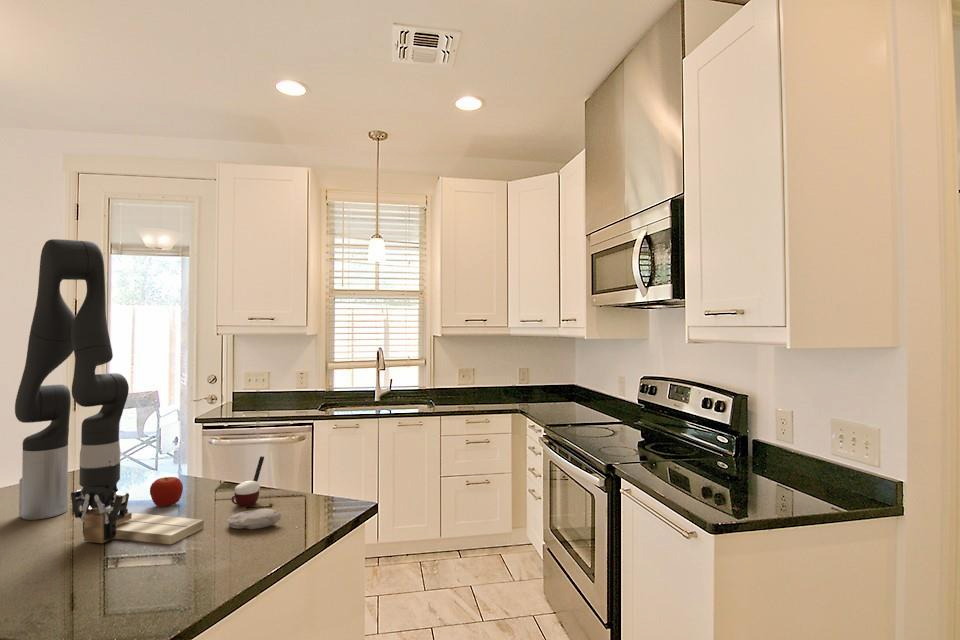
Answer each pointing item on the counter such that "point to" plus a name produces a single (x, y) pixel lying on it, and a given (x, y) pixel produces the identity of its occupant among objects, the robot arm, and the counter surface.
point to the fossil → (254, 519)
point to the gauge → (98, 525)
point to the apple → (166, 491)
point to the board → (157, 528)
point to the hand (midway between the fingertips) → (99, 537)
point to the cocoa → (248, 489)
